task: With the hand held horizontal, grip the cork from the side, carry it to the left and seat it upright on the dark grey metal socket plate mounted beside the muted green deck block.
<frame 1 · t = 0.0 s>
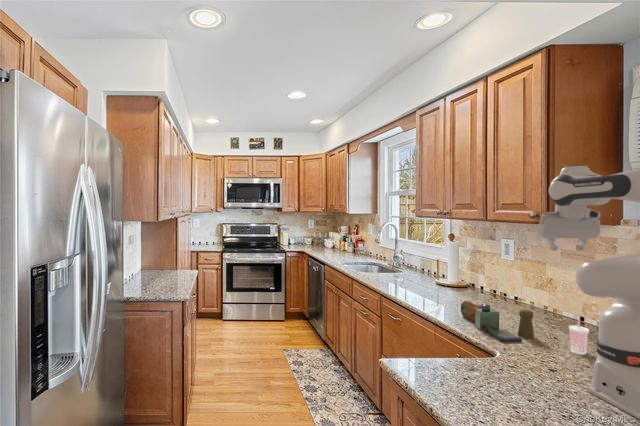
hand: (566, 250, 124), 39 cm above the counter, tool pointing down, fingers open, 8 cm apart
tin: (473, 320, 166), on the counter
beverage cup: (578, 352, 130), on the counter
cork: (525, 336, 146), on the counter
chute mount: (503, 336, 146), on the counter
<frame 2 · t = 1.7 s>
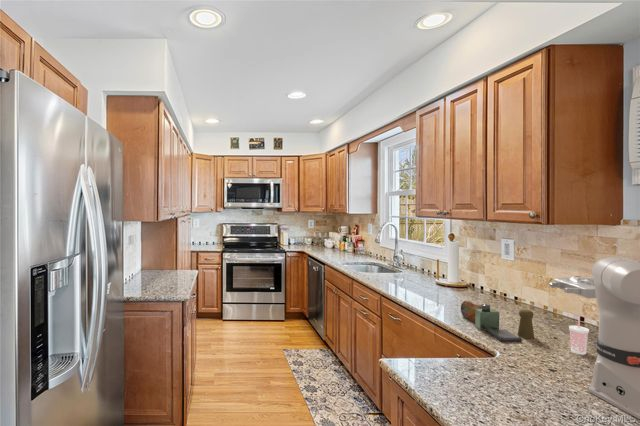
hand: (557, 287, 145), 20 cm above the counter, tool horizontal, fingers open, 8 cm apart
nothing on the counter moved.
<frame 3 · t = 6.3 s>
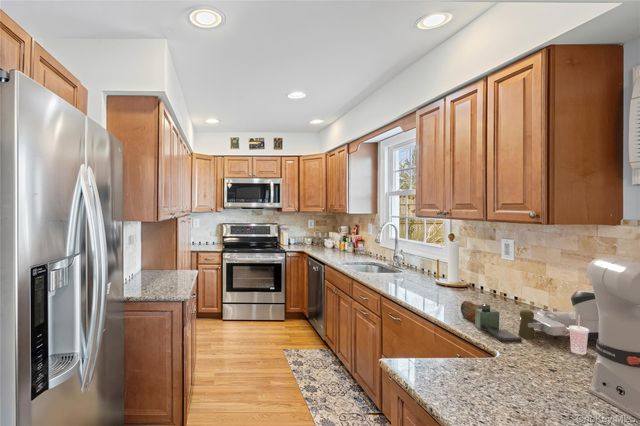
hand: (523, 322, 146), 6 cm above the counter, tool horizontal, fingers closed on cork, 3 cm apart
cork: (526, 336, 145), on the counter, touching gripper
everything else where it was.
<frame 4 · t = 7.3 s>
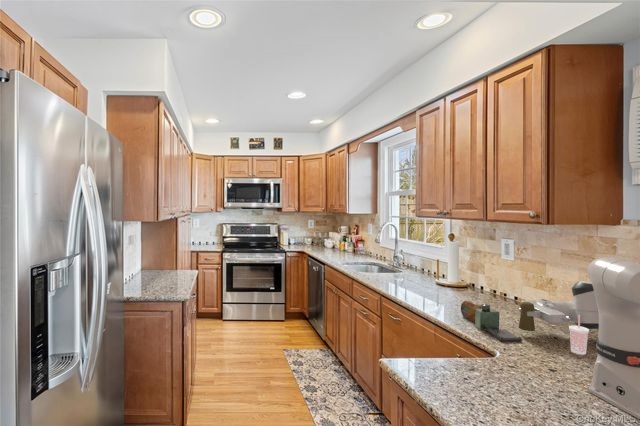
hand: (523, 311, 146), 10 cm above the counter, tool horizontal, fingers closed on cork, 3 cm apart
cork: (526, 328, 145), point 3 cm above the counter, touching gripper
everything else where it was.
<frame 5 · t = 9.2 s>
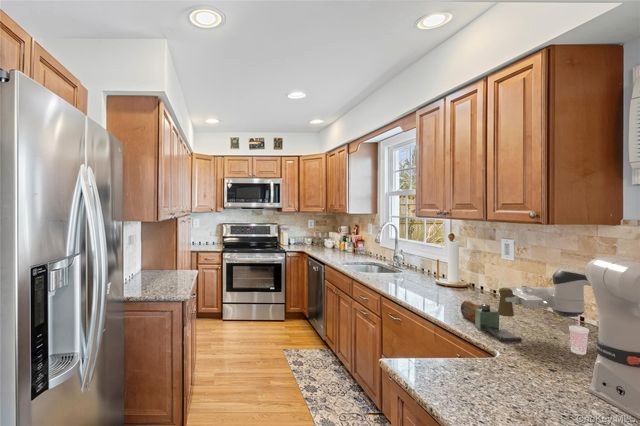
hand: (502, 297, 145), 16 cm above the counter, tool horizontal, fingers closed on cork, 3 cm apart
cork: (505, 314, 145), point 9 cm above the counter, touching gripper
everything else where it was.
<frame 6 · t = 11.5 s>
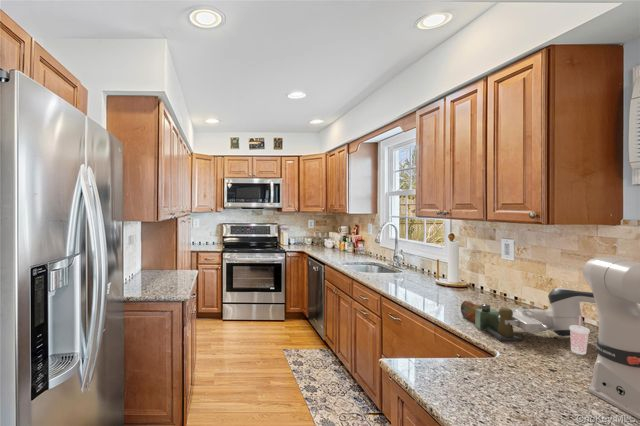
hand: (501, 320, 146), 7 cm above the counter, tool horizontal, fingers closed on cork, 3 cm apart
beverage cup: (578, 352, 130), on the counter, touching arm
cork: (505, 335, 145), point 1 cm above the counter, touching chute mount, gripper
everything else where it was.
when the fingers open (7 cm above the counter, at t = 11.5 s): cork stays where it is, resting on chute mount.
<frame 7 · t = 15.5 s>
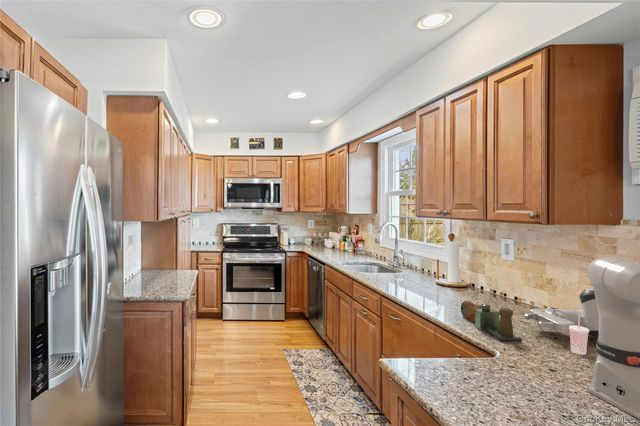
hand: (532, 320, 146), 6 cm above the counter, tool horizontal, fingers open, 8 cm apart
beverage cup: (578, 352, 130), on the counter
cork: (505, 335, 145), point 1 cm above the counter, touching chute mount
everything else where it was.
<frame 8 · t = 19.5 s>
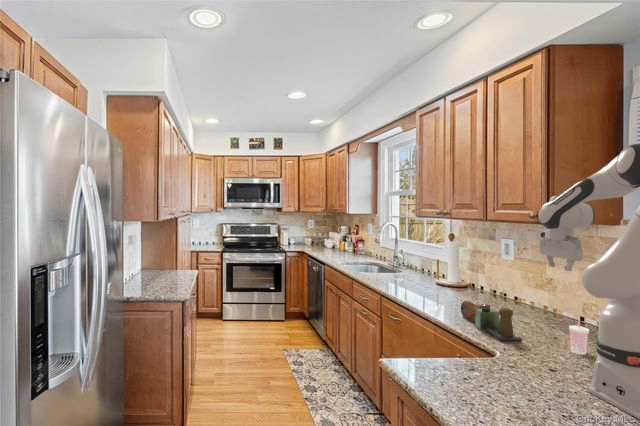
hand: (559, 268, 141), 29 cm above the counter, tool pointing down, fingers open, 8 cm apart
nothing on the counter moved.
at the end: cork inside the target area (1.0 cm from its centre), point 0.6 cm above the counter; cork tilted 0°; the gripper is holding nothing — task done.
